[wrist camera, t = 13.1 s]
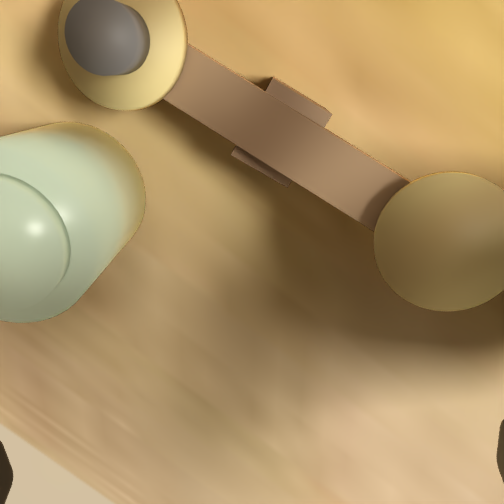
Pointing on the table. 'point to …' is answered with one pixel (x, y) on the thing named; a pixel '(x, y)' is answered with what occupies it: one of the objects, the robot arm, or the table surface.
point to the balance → (295, 149)
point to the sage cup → (62, 215)
